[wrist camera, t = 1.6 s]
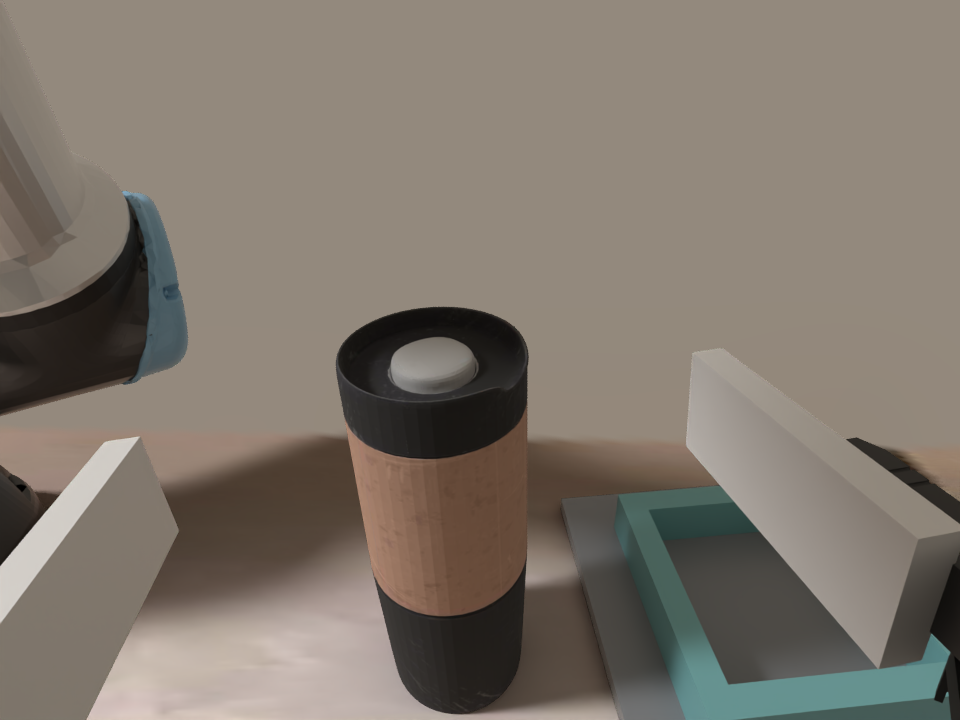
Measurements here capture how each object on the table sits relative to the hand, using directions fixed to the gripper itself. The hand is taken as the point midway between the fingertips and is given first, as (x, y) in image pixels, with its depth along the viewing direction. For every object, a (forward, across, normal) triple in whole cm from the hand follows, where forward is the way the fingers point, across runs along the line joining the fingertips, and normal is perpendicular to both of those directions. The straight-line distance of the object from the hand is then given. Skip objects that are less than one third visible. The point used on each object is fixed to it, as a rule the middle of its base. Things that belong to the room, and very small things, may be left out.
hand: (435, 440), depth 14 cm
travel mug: (+11, -1, -21) cm, 24 cm away
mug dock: (+10, +17, -22) cm, 30 cm away
